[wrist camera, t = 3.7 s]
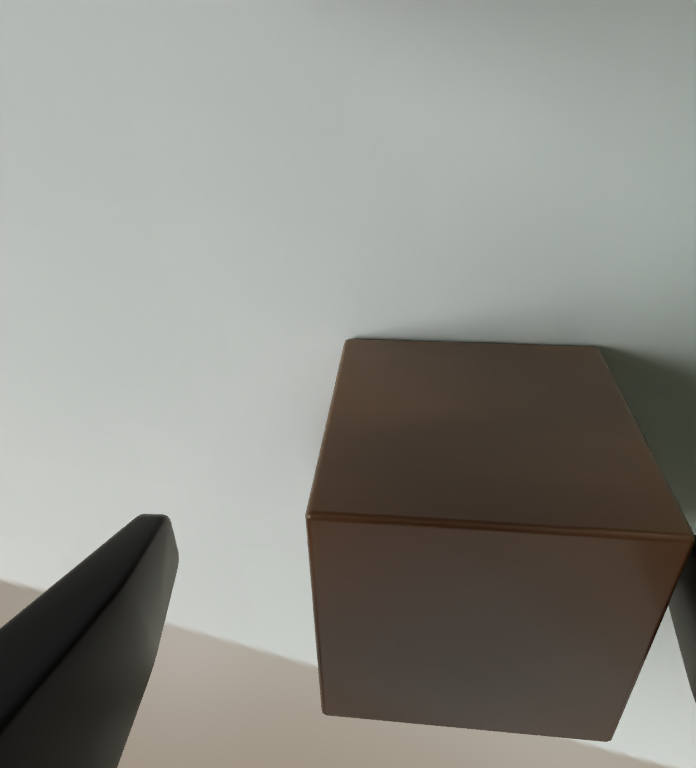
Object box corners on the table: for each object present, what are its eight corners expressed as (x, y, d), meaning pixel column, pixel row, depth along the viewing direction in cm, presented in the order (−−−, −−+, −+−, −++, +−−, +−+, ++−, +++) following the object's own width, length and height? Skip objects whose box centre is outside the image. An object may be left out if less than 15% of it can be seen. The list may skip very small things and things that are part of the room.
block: (599, 344, 9) (700, 539, 6) (556, 526, 11) (612, 745, 8) (344, 337, 10) (303, 514, 6) (349, 514, 12) (321, 717, 8)
